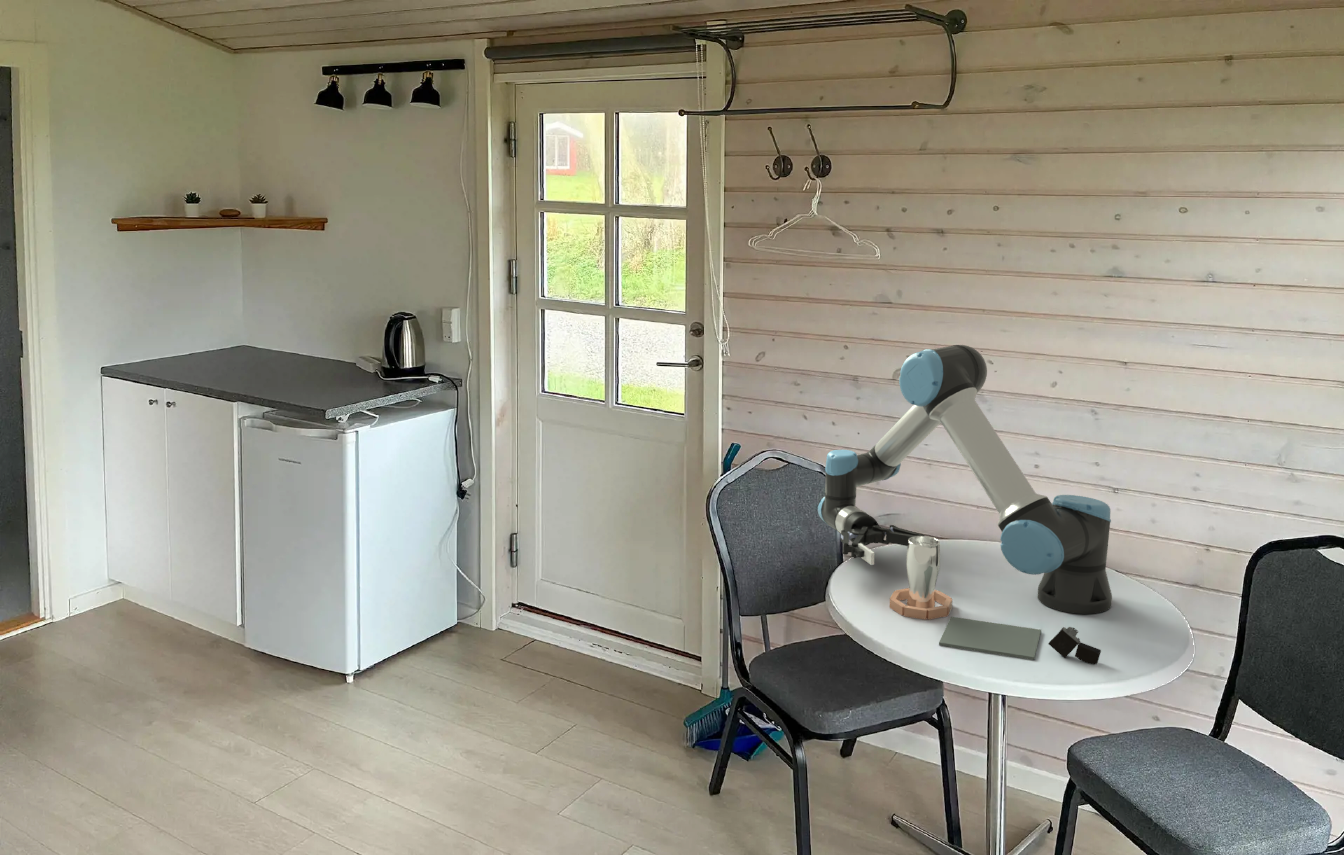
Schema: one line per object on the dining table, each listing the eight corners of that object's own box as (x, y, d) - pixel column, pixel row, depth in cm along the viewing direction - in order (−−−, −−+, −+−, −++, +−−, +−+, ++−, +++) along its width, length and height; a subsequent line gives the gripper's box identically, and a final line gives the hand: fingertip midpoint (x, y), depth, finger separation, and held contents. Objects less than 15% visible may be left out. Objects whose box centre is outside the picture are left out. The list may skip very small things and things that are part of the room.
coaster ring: (954, 601, 248) (955, 592, 248) (945, 622, 237) (945, 613, 237) (897, 593, 253) (898, 584, 252) (885, 613, 242) (885, 604, 241)
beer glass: (937, 614, 241) (941, 547, 237) (903, 612, 242) (907, 545, 239) (937, 602, 248) (940, 536, 244) (904, 600, 249) (907, 534, 245)
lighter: (1087, 671, 221) (1106, 652, 218) (1085, 675, 219) (1103, 656, 216) (1051, 639, 223) (1069, 620, 221) (1047, 643, 222) (1066, 624, 219)
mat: (1040, 632, 232) (1041, 629, 232) (1033, 660, 219) (1034, 657, 219) (950, 619, 239) (950, 616, 239) (938, 645, 226) (939, 642, 226)
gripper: (904, 536, 276) (950, 565, 256) (808, 546, 269) (848, 578, 249) (905, 506, 274) (951, 533, 254) (809, 516, 267) (849, 545, 247)
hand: (900, 555), depth 252 cm, fingers open, 13 cm apart
